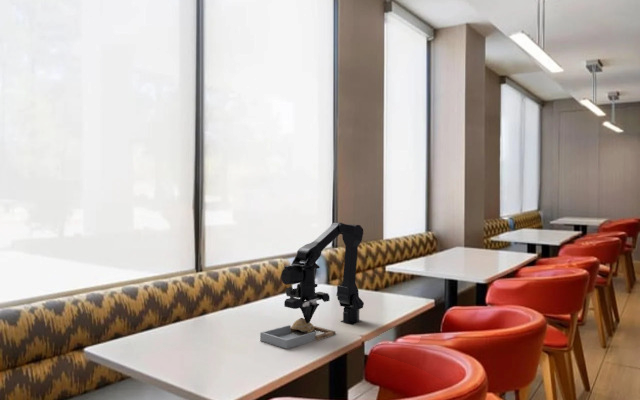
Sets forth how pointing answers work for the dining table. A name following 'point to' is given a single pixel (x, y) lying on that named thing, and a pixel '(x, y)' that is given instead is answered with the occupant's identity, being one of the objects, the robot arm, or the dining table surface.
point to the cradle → (326, 331)
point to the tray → (285, 337)
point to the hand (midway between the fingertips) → (307, 322)
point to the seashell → (303, 326)
